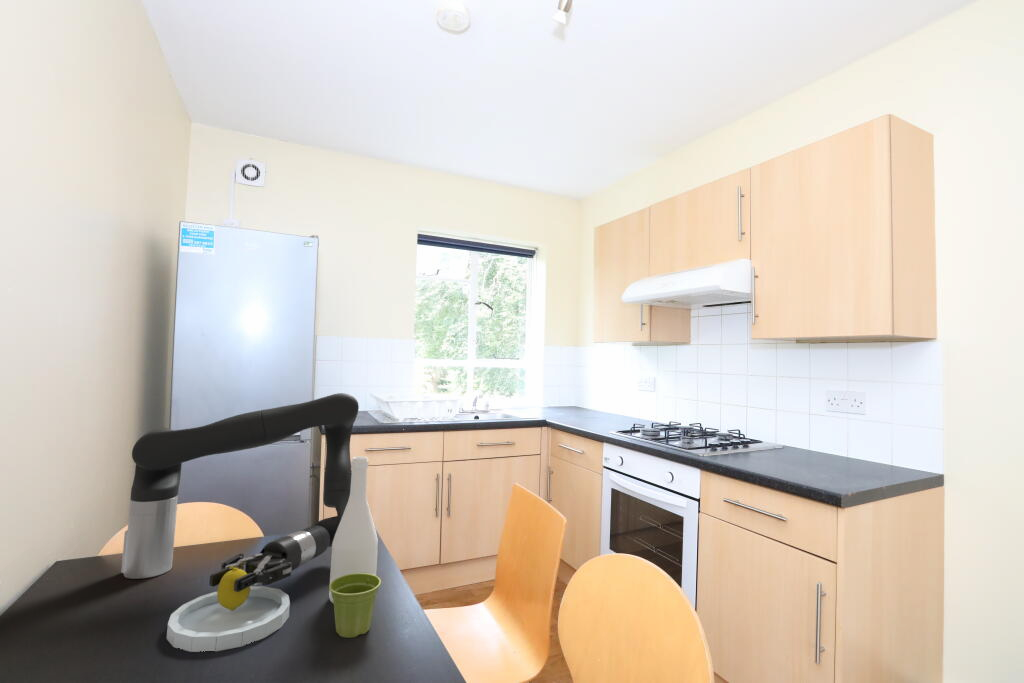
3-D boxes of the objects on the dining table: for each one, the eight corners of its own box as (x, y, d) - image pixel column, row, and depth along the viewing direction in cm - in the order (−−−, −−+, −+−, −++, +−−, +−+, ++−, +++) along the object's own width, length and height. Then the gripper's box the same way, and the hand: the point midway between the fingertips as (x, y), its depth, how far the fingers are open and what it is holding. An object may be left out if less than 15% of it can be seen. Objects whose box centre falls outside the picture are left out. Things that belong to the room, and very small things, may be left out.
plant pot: (369, 644, 87) (372, 594, 88) (318, 642, 88) (321, 592, 88) (384, 619, 97) (386, 574, 97) (337, 616, 97) (340, 572, 98)
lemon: (234, 619, 90) (237, 575, 91) (208, 615, 91) (211, 572, 92) (255, 605, 96) (258, 563, 96) (231, 602, 97) (233, 561, 97)
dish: (140, 638, 87) (141, 623, 87) (234, 592, 106) (235, 580, 106) (227, 661, 81) (228, 645, 81) (310, 608, 100) (311, 595, 100)
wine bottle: (370, 586, 111) (378, 453, 114) (378, 604, 103) (386, 460, 105) (326, 592, 107) (335, 454, 110) (330, 612, 99) (340, 462, 101)
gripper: (264, 531, 110) (195, 557, 94) (317, 539, 106) (254, 569, 90) (261, 565, 110) (192, 597, 93) (315, 575, 105) (252, 611, 89)
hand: (223, 583), depth 92 cm, fingers closed on lemon, 5 cm apart
